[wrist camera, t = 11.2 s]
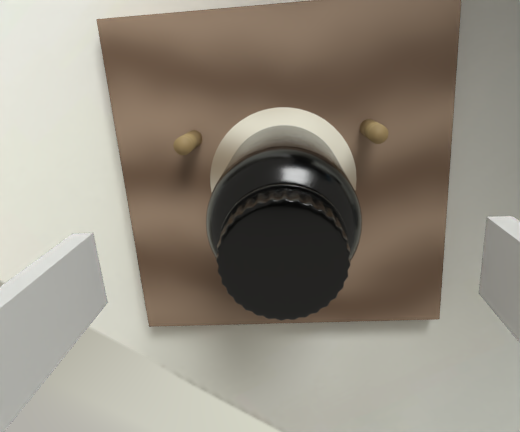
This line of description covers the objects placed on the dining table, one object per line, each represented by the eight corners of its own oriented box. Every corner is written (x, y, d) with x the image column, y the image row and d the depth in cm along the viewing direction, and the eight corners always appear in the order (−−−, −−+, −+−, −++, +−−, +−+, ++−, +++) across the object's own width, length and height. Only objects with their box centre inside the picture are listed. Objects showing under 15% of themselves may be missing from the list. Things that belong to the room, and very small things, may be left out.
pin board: (107, 22, 26) (70, 11, 21) (451, -8, 24) (487, -26, 20) (155, 315, 32) (134, 352, 27) (432, 307, 30) (455, 345, 26)
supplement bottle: (211, 203, 27) (154, 296, 16) (258, 103, 25) (232, 127, 13) (307, 250, 28) (320, 372, 16) (361, 156, 25) (420, 221, 14)
